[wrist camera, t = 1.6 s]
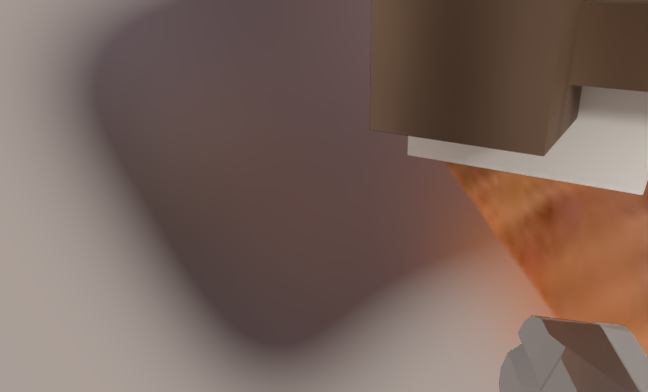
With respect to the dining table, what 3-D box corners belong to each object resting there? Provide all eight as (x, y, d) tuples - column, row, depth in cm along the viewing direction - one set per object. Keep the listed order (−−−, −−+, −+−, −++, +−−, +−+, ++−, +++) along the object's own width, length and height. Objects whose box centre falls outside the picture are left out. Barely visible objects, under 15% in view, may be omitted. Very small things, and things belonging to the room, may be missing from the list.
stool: (721, -105, 40) (714, -155, 20) (680, 83, 45) (642, 195, 25) (554, -96, 46) (418, -128, 26) (534, 71, 51) (407, 154, 31)
